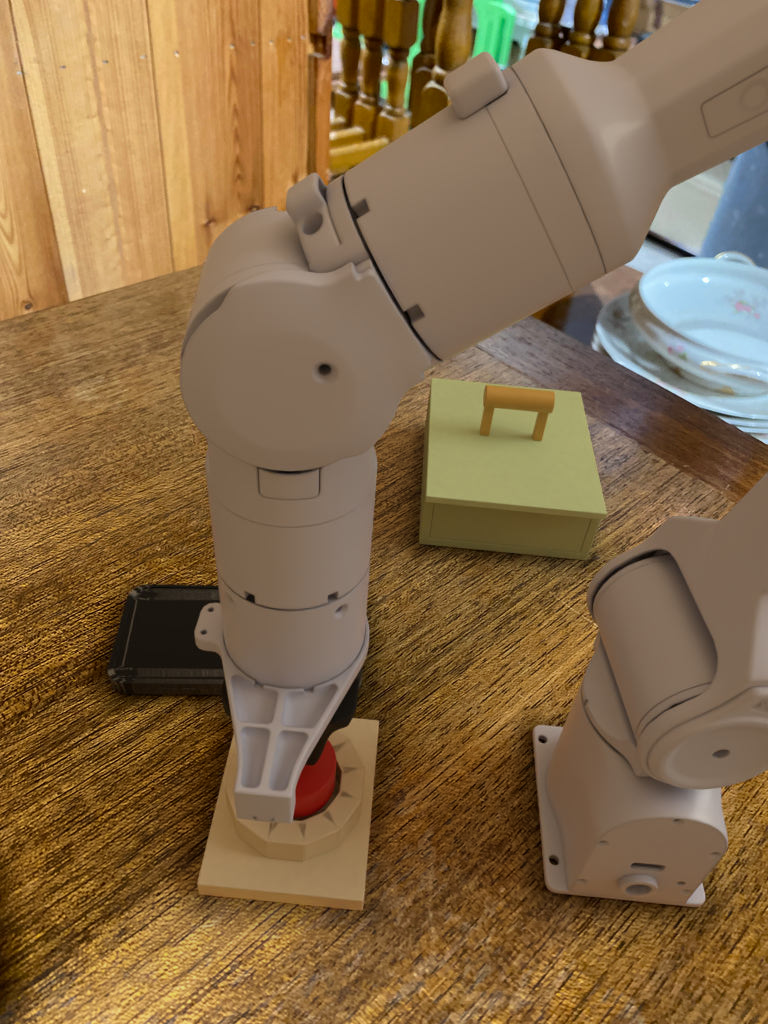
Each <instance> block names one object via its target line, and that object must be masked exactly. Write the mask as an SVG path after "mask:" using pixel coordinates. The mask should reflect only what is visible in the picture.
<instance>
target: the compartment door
mask: <svg viewBox="0 0 768 1024" xmlns="http://www.w3.org/2000/svg"><path fill="white" fill-rule="evenodd" d="M430 385H431V386H430ZM430 385H429V392H430V408H429V430H428V452H427V475H426V497H425V502H429V503H439V504H449V505H459V506H469V507H479V508H489V509H500V510H510V511H520V512H530V513H540V514H550V515H561V516H571V517H581V518H591V519H601V520H603V521H605V520H606V519H607V516H608V511H607V508H606V503H605V498H604V493H603V489H602V484H601V479H600V476H599V470H598V466H597V461H596V456H595V452H594V448H593V447H594V446H593V444H592V443H593V442H592V439H591V433H590V430H589V424H588V421H587V415H586V411H585V407H584V401H583V396H582V392H580V391H573V390H563V389H553V388H551V389H550V388H540V387H532V386H531V387H530V386H522V385H511V384H501V383H492V382H491V383H489V382H479V381H469V380H459V379H449V378H439V377H431V378H430ZM601 520H600V521H601Z"/></svg>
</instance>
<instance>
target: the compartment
mask: <svg viewBox="0 0 768 1024" xmlns="http://www.w3.org/2000/svg"><path fill="white" fill-rule="evenodd" d="M430 386H431V384H430V385H429V387H430ZM429 408H430V391H429V392H428V401H427V407H426V417H425V424H424V432H423V433H424V435H423V450H422V451H423V452H422V453H423V455H422V470H421V472H422V473H421V493H420V511H419V532H418V544H419V545H427V546H437V547H445V548H446V547H448V548H456V549H457V548H458V549H466V550H467V549H468V550H476V551H477V550H478V551H486V552H487V551H488V552H496V553H497V552H499V553H507V554H508V553H509V554H517V555H527V556H539V557H548V558H557V559H558V558H559V559H566V560H567V559H569V560H578V561H587V560H588V558H589V555H590V552H591V549H592V546H593V543H594V540H595V538H596V535H597V531H598V529H599V525H600V524H601V519H591V518H581V517H571V516H561V515H550V514H540V513H530V512H520V511H510V510H500V509H489V508H479V507H469V506H459V505H449V504H439V503H429V502H425V497H426V475H427V452H428V430H429Z"/></svg>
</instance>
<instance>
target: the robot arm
mask: <svg viewBox="0 0 768 1024" xmlns="http://www.w3.org/2000/svg"><path fill="white" fill-rule="evenodd" d="M500 67H501V66H499V64H498V63H497V61H496V60H495V58H494V57H493V55H492V54H491V53H490V52H488V51H481V52H480V53H478V54H477V55H475V56H474V57H472V58H470V59H469V60H468V61H466V62H464V63H463V64H462V65H461V66H459V67H457V68H455V69H454V70H452V71H451V72H449V73H448V74H447V75H446V76H445V77H444V79H443V87H444V89H445V92H446V94H447V96H448V99H449V101H450V104H449V105H447V106H446V107H444V108H443V109H441V110H439V111H438V112H436V113H435V114H434V115H432V116H431V117H428V118H427V119H426V120H424V121H423V122H421V123H419V124H418V125H416V126H415V127H413V128H412V129H410V130H409V131H407V132H406V133H404V134H403V135H401V136H399V137H398V138H396V139H395V140H393V141H392V142H391V143H389V144H387V145H386V146H384V147H382V148H380V150H378V151H376V152H375V153H373V154H372V155H370V156H368V157H367V158H365V159H364V160H362V161H361V162H359V163H358V164H356V165H355V166H353V167H352V168H350V169H349V170H347V171H345V173H344V174H340V175H339V176H338V177H336V178H335V179H333V180H332V181H330V182H329V183H328V184H327V185H326V183H325V182H324V181H323V179H322V178H321V175H320V174H318V173H317V172H312V173H310V174H309V175H307V176H305V177H304V178H302V179H301V180H299V181H298V182H297V183H295V184H293V185H292V186H290V187H289V188H288V189H287V191H286V195H285V210H278V207H277V205H275V206H268V207H265V208H262V209H257V210H255V211H251V212H250V213H246V214H245V215H243V216H241V217H239V218H238V219H236V220H234V222H232V223H231V224H230V225H228V226H226V228H225V229H223V230H222V231H221V233H220V234H219V235H218V236H217V237H216V238H215V240H214V241H213V243H212V244H211V246H210V248H209V249H208V250H207V251H208V252H207V256H206V258H205V260H204V261H203V263H202V266H201V270H200V275H199V277H198V278H199V279H198V282H197V285H196V290H195V292H194V293H195V294H194V297H193V302H192V305H191V309H190V313H189V317H188V319H187V320H188V321H187V324H186V328H185V333H184V337H183V340H182V344H181V349H180V359H179V361H180V362H179V363H180V364H179V387H180V394H181V398H182V400H183V401H182V402H183V404H184V407H185V409H186V412H187V413H188V415H189V418H190V420H192V422H193V423H194V425H195V426H196V428H197V430H198V431H199V432H200V433H201V434H202V435H203V436H204V437H205V440H206V443H207V450H206V454H205V460H204V472H205V479H206V487H207V488H206V489H207V496H208V497H207V498H208V506H209V507H208V508H209V515H210V524H211V533H212V541H213V542H212V543H213V553H214V559H215V566H216V574H217V575H216V576H217V586H218V587H219V596H220V603H209V604H207V605H206V606H204V607H203V609H202V610H201V613H200V616H199V619H198V622H197V625H196V628H195V642H196V645H197V647H198V648H199V649H202V650H205V651H213V652H216V653H218V654H219V655H220V656H221V659H222V664H223V670H224V676H225V677H224V680H223V684H222V689H221V695H220V696H221V703H222V707H223V710H224V713H225V714H226V715H227V716H228V717H230V718H231V724H232V730H233V734H234V736H235V742H236V748H237V773H236V779H235V785H234V799H235V807H236V815H237V818H238V819H247V820H255V821H263V822H278V823H288V824H290V823H292V821H293V815H294V809H295V803H296V798H295V789H296V785H297V782H298V779H299V776H300V774H301V771H302V769H303V767H304V766H305V765H312V766H313V765H315V764H316V763H317V761H318V760H319V758H320V756H321V754H322V752H323V750H324V747H325V745H326V742H327V740H328V738H329V737H330V735H331V734H332V733H333V732H335V731H337V730H339V729H342V728H345V727H347V726H348V725H349V724H350V722H351V720H352V718H354V717H355V714H356V711H357V708H358V707H357V706H358V700H359V699H358V698H359V691H360V690H359V689H360V688H359V682H360V678H356V676H357V674H358V673H359V671H360V669H361V667H362V665H364V663H365V662H366V659H367V655H368V651H369V648H370V647H369V646H370V625H369V620H368V615H367V612H368V611H367V609H368V596H369V584H370V571H371V570H370V569H371V555H372V554H371V553H372V542H373V528H374V518H375V517H374V516H375V504H376V491H377V490H376V489H377V475H378V457H377V451H376V448H375V446H374V445H375V444H377V442H378V441H379V440H380V439H381V438H382V437H383V435H384V434H385V433H386V432H387V430H388V429H389V426H390V425H391V424H392V421H393V420H394V417H395V415H396V413H397V410H398V407H399V404H400V401H401V400H402V398H403V397H404V396H405V394H406V393H407V392H409V390H410V389H412V388H413V387H415V386H417V385H418V384H421V383H422V382H424V381H425V373H426V372H428V371H429V370H432V369H433V368H435V367H437V366H439V365H441V364H442V363H444V362H446V361H448V360H450V359H451V358H453V357H455V356H457V355H460V354H461V353H464V352H465V351H467V350H468V349H471V348H473V347H474V346H477V345H478V344H480V343H482V342H483V341H485V340H487V339H490V338H492V337H493V336H495V335H496V334H498V333H500V332H502V331H504V330H506V329H508V328H510V327H511V326H513V325H516V324H517V323H519V322H521V321H523V320H524V319H526V318H528V317H530V316H532V315H534V314H535V313H537V312H539V311H541V310H544V309H545V308H547V307H550V306H551V305H552V304H554V303H556V302H558V301H560V300H562V299H563V298H566V297H567V296H569V295H571V294H573V293H574V292H576V291H578V290H580V289H582V288H584V287H585V286H588V285H590V284H591V283H593V282H595V281H597V280H599V279H600V278H603V277H605V275H607V274H609V273H611V272H613V271H615V270H617V269H619V268H621V267H623V266H625V265H627V264H629V263H631V262H633V260H634V259H635V258H636V257H637V255H638V254H639V252H640V250H641V249H642V247H643V244H644V242H645V240H646V238H647V235H648V234H649V231H650V229H651V227H652V225H653V222H654V220H655V218H656V216H657V214H658V211H659V209H660V206H661V205H662V203H663V201H664V199H665V197H666V195H667V194H668V192H669V191H671V189H672V188H674V187H676V186H678V185H680V184H682V183H684V182H686V181H688V180H690V179H693V178H695V177H697V176H698V175H700V174H703V173H705V172H707V171H709V170H711V169H713V168H715V167H717V166H719V165H722V164H723V163H726V162H728V161H730V160H731V159H734V158H735V157H737V156H740V155H742V154H743V153H745V152H748V151H750V150H752V149H754V148H756V147H758V146H760V145H763V144H764V143H766V142H768V0H699V1H697V2H696V3H695V4H693V5H692V6H691V7H689V8H687V9H686V10H685V11H683V12H682V13H681V14H679V15H677V16H676V17H675V18H673V19H672V20H671V21H669V22H667V23H666V24H665V25H663V26H661V27H660V28H659V29H657V30H656V31H654V32H653V33H651V34H650V35H649V36H647V37H646V38H644V39H643V40H642V41H640V42H639V43H637V44H635V45H634V46H633V47H631V48H629V49H628V50H627V51H625V52H624V53H623V54H621V55H620V56H618V57H617V58H615V59H614V60H609V61H597V60H589V59H586V58H582V57H579V56H576V55H572V54H569V53H566V52H563V51H561V50H560V51H559V50H556V49H551V48H545V47H540V48H536V49H534V50H532V51H531V52H529V53H528V54H526V55H525V56H523V57H522V58H520V59H519V60H517V61H516V62H514V63H513V64H511V66H509V67H506V68H504V69H503V70H502V69H501V68H500ZM585 601H586V606H587V609H588V612H589V614H590V617H591V618H592V620H593V621H594V624H596V626H597V629H598V631H597V633H596V637H595V638H594V641H593V644H592V646H593V655H592V656H591V658H590V661H588V664H587V667H586V669H585V673H584V674H583V677H582V679H581V681H580V684H579V686H578V689H577V691H576V694H575V697H574V699H573V702H572V705H571V707H570V709H569V712H568V715H567V716H566V719H565V722H564V725H563V726H558V725H547V724H537V725H536V726H534V727H533V729H532V734H531V735H532V747H533V758H534V760H533V761H534V772H535V782H536V783H535V784H536V796H537V805H538V806H537V807H538V816H539V817H538V820H539V830H540V839H541V840H540V842H541V843H540V844H541V853H542V867H543V868H542V869H543V877H544V878H543V879H544V885H545V887H546V888H547V890H548V891H550V892H551V893H554V894H561V895H571V896H581V897H590V898H591V897H592V898H599V899H602V898H603V899H611V900H620V901H629V902H630V901H631V902H640V903H650V904H659V905H660V904H661V905H668V906H669V905H672V906H679V907H689V908H699V907H701V906H702V905H703V904H704V903H705V901H706V893H705V888H704V885H703V882H704V881H705V879H707V877H708V876H709V874H710V873H711V872H712V871H713V869H714V868H715V867H716V865H718V863H719V862H720V860H721V859H722V858H723V857H724V855H725V854H726V853H727V851H728V847H729V837H728V831H727V826H726V822H725V816H724V811H723V805H722V803H723V802H722V788H726V787H730V786H734V785H737V784H740V783H743V782H747V781H749V780H751V779H753V778H755V777H757V776H760V775H761V774H763V773H765V772H766V771H768V471H766V472H765V473H764V474H763V475H762V477H761V478H760V479H759V480H758V481H757V482H756V483H755V484H754V485H753V486H752V487H751V488H750V489H749V490H748V491H747V492H746V493H745V494H744V495H743V496H742V498H740V499H739V501H737V503H735V505H734V506H732V508H731V509H729V511H728V512H727V513H726V514H725V515H724V516H723V517H722V518H721V519H715V518H709V517H702V516H696V515H672V516H669V517H667V518H666V519H665V520H664V521H663V522H662V523H661V525H660V526H658V528H657V529H656V530H655V531H654V532H653V533H652V534H651V535H650V536H649V537H648V538H646V539H645V540H644V541H642V542H640V543H639V544H637V545H636V546H633V547H631V548H629V549H628V550H625V551H623V552H621V553H619V554H618V555H616V556H615V557H613V558H612V559H610V560H609V561H607V563H605V564H604V565H603V566H601V568H600V569H598V571H597V572H596V573H595V575H594V576H593V577H592V579H591V580H590V583H589V585H588V587H587V589H586V599H585ZM540 740H543V741H544V743H543V742H541V741H540ZM550 859H553V860H554V861H556V863H557V864H552V862H550Z"/></svg>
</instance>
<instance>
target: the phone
mask: <svg viewBox="0 0 768 1024" xmlns="http://www.w3.org/2000/svg"><path fill="white" fill-rule="evenodd" d="M209 603H220V596H219V587H218V585H208V584H207V585H206V584H204V585H203V584H163V583H161V584H159V583H158V584H157V583H155V584H154V583H150V584H149V583H147V584H141V585H138V586H135V587H134V588H132V589H131V590H130V591H129V593H127V596H126V600H125V604H124V606H123V610H122V614H121V618H120V621H119V624H118V628H117V632H116V636H115V638H114V643H113V647H112V650H111V653H110V657H109V661H108V664H107V675H108V679H109V682H110V685H111V688H112V689H113V690H114V691H115V692H117V693H120V694H123V695H157V696H158V695H159V696H160V695H166V696H167V695H168V696H169V695H171V696H172V695H177V696H221V689H222V684H223V680H224V677H225V676H224V670H223V664H222V659H221V656H220V655H219V654H218V653H216V652H213V651H205V650H202V649H199V648H198V647H197V645H196V642H195V628H196V625H197V622H198V619H199V616H200V613H201V610H202V609H203V607H204V606H206V605H207V604H209ZM363 665H364V664H363ZM363 665H362V667H361V669H360V671H359V673H358V674H357V676H356V678H360V682H359V689H360V688H361V687H362V681H363V671H364V666H363Z"/></svg>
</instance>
